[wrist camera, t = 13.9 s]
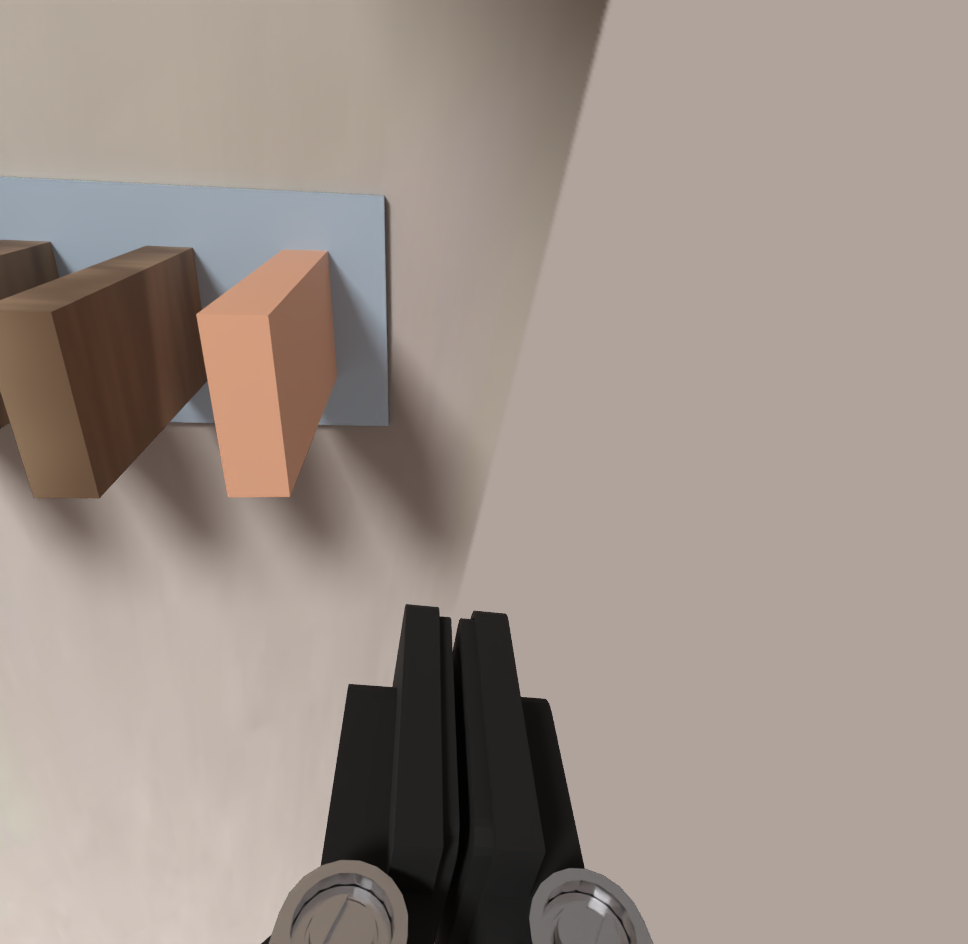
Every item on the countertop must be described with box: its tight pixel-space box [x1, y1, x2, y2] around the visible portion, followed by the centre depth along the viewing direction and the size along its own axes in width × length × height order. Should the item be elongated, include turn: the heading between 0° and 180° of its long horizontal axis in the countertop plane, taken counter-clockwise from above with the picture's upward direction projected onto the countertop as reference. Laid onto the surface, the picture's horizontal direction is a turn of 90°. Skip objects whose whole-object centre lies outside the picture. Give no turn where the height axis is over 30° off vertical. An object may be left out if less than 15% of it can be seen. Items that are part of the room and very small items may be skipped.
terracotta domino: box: [196, 250, 337, 497], centre depth 25 cm, size 2×6×12 cm, turn 178°
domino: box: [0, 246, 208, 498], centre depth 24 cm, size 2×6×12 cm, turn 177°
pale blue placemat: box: [0, 176, 389, 426], centre depth 30 cm, size 11×25×1 cm, turn 87°
